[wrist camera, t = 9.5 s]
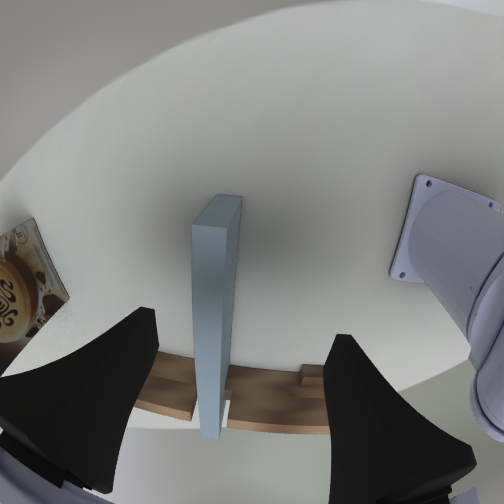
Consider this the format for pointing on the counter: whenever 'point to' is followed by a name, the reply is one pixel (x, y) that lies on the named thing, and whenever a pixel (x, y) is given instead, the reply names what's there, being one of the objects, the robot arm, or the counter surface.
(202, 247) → the grey notched plate
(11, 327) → the coffee box
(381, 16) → the counter surface
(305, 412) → the walnut slotted plate
